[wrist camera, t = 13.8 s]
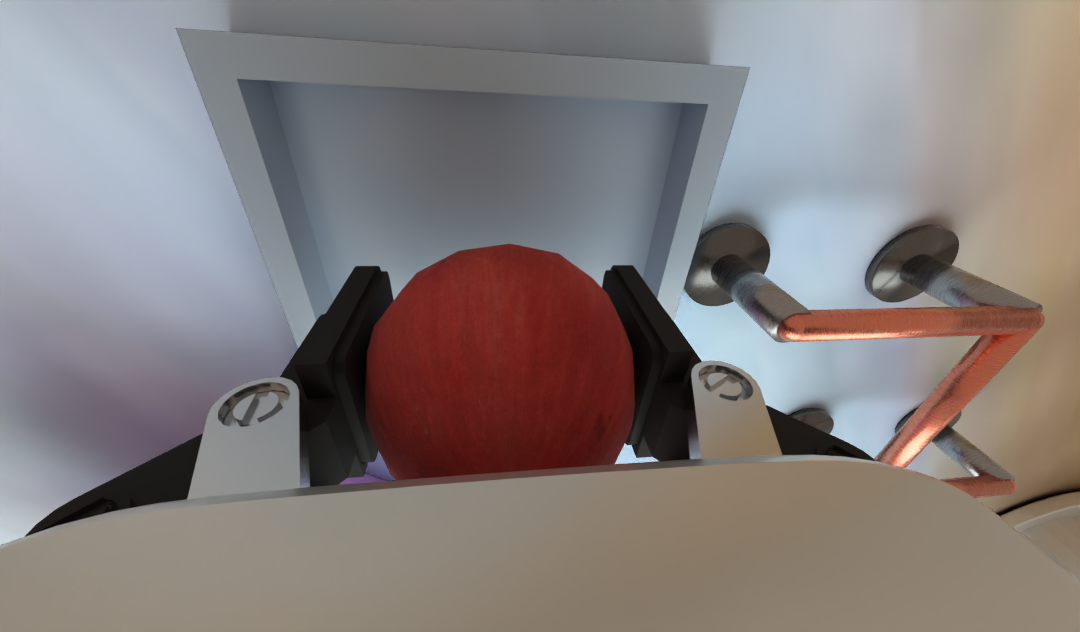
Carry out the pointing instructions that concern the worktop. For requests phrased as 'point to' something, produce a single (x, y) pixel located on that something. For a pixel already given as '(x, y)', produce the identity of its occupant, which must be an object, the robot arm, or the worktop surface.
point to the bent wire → (887, 329)
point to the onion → (499, 368)
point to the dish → (460, 156)
